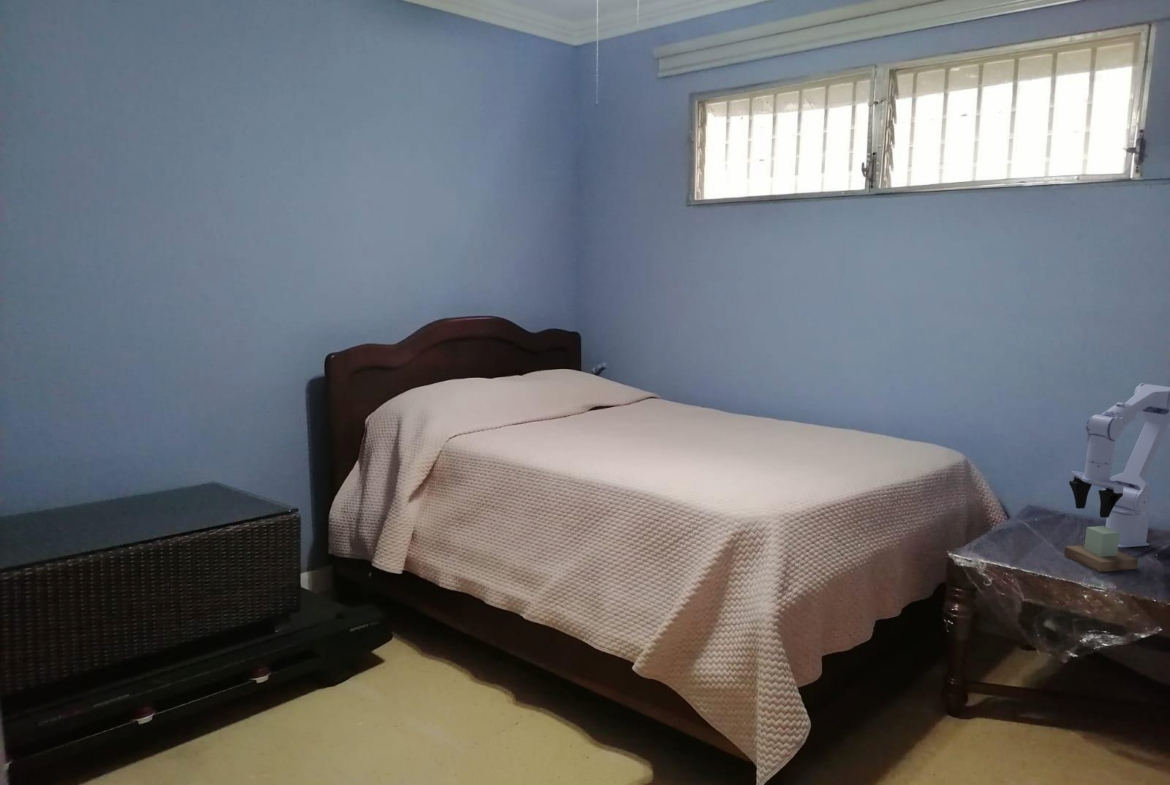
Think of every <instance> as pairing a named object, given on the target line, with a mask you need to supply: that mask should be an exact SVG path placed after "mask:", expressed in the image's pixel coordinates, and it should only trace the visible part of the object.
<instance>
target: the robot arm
mask: <svg viewBox="0 0 1170 785" xmlns="http://www.w3.org/2000/svg"><path fill="white" fill-rule="evenodd" d="M1137 414H1138V415H1139V416H1140V417H1141V418H1143V419H1144V420H1145V422H1144V425H1143V427H1142V430H1141V432H1140V433H1139V437H1138V439H1137V440H1136V443H1135V445H1134V448H1133V449H1132V452H1131V455H1130V456H1129V459H1128V461H1127V462H1126V465H1125V468H1124V470H1123V472H1120V473H1118V474H1115V475H1112V467H1113V461H1114V453H1115V448H1116V447H1115V446H1116V440H1119V438H1120V437H1121V435H1122V433H1123V432H1124V430H1125V428H1126V427H1127V426H1128V425H1129V424H1132V423H1133V422H1134V421H1135V420H1136V418H1137ZM1169 425H1170V386H1166V385H1165V386H1164V385H1156V384H1150V383H1147V382H1146V383H1145V382H1140V383H1139V384H1138V386H1136V387H1135V389H1134V393H1133V396H1131V397H1130V398H1129V399H1127V401H1126V402H1121V401H1120V402H1119V401H1118V402H1116V403H1115V404H1114V405H1112V407H1109V408H1108V409H1106V410H1105V411H1104V412H1102V413H1100V414H1098V413H1097V414H1094V415H1090V417H1088V419H1087V421H1086V424H1085V427H1084V429H1085V434H1086V442H1087V444H1088V445H1087V450H1086V460H1085V465H1084V466H1085V467H1084V472H1082V471H1078V470H1072V471H1070V479H1072V480H1069V483H1068V484H1069V486H1070V488H1071V490H1072V494H1073V498H1074V503H1075V508H1076V509H1080V510H1081V509H1086V505H1087V501H1088V500H1087V499H1088V495H1089V492H1090V490H1091V487H1092V486H1096V487H1098V488H1101V490H1100V489H1099V490H1098V494H1099V495H1098V496H1099V500H1100V501H1099V502H1100V503H1099V504H1100V505H1099V506H1100V508H1099V517H1100V518H1103V519H1104V518H1106V521H1105V527H1107V528H1110V529H1112V530H1115V531H1117V532H1120V536H1119V544H1118V548H1123V549H1124V548H1131V547H1134V548H1135V547H1144V546H1146V547H1147V546H1149V545H1150V543H1148V542H1147V538H1148V532H1149V531H1148V530H1149V523H1150V522H1149V517H1148V516H1147V513H1146V511H1147V510H1148V508H1149V507H1150V504H1151V499H1152V498H1151V496H1152V494H1153V488H1152V487H1151V485H1150V484H1149V483H1148V482H1147V481H1146V478H1147V474H1148V473H1149V470H1150V469H1151V466H1152V464H1153V461H1154V459H1155V456H1156V454H1157V453H1158V450H1159V448H1160V446H1161V443H1162V441H1163V438H1164V436H1165V434H1166V432H1167V429H1168V427H1169Z"/></svg>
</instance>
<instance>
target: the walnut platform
mask: <svg viewBox="0 0 1170 785" xmlns="http://www.w3.org/2000/svg"><path fill="white" fill-rule="evenodd" d="M1084 545H1085V544H1078V545H1068V546H1065V547H1064V553H1063V554H1064V555H1063V556H1065V557H1066V558H1068V559H1070V560H1073V561H1075V562H1077V563H1078V564H1081V565H1084V566H1085V567H1088V568H1090V569H1092V570H1095V571H1096V572H1099V573H1103V572H1113V571H1114V572H1115V571H1125V570H1137V568H1138V562H1139V558H1136V557H1134V556H1131V555H1129V554H1128V553H1124V552H1122V551H1120V550H1118V552H1117V556H1105V557H1099V556H1097V555H1095V554H1092V553H1090V552H1088V551H1086V550H1084Z"/></svg>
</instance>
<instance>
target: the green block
mask: <svg viewBox="0 0 1170 785" xmlns="http://www.w3.org/2000/svg"><path fill="white" fill-rule="evenodd" d="M1119 536H1120V532H1117V531H1115V530H1112V529H1110V528H1107V527H1106V525H1105V526H1104V525H1100V526H1087V527H1086V530H1085V538H1084V539H1085V540H1084V544H1083V545H1084V550H1086V551H1088V552H1090V553H1092V554H1095V555H1097V556H1099V557H1105V556H1117V552H1118V551H1119V547H1118V544H1119Z"/></svg>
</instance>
